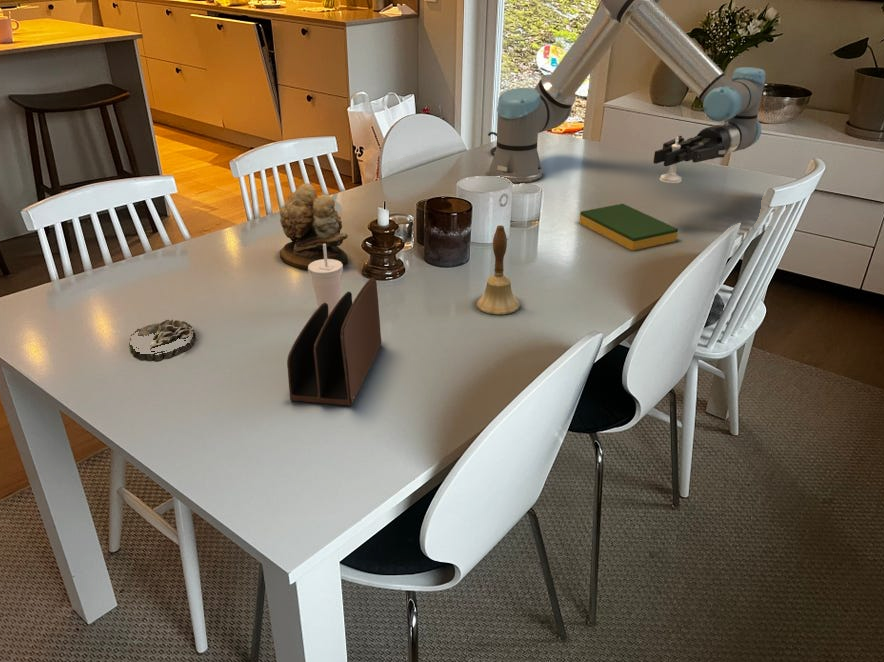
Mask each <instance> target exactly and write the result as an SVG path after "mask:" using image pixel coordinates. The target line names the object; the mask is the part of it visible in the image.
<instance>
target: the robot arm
mask: <svg viewBox="0 0 884 662" xmlns="http://www.w3.org/2000/svg"><path fill="white" fill-rule="evenodd" d="M600 1H601V5H600V6H599V7H598V8H597V10H596V11H595V13H594V14H593V16H592V17H591V19H590V20H589V21H588V23H587V24H586V26H585V27H584V28H583V29H582V31H581V32H580V34H579V35H578V37H577V38H576V39H575V41H574V42H573V43H572V44H571V47H569V49H568V50H567V52H566V53H565V54H564V56H563V57H562V59H561V60H560V62H559V63H558V65H557V66H556V67H555V68H554V69H553V71H552V73H550V74H544V75H543V76H542V77H541V79H540V80H539V82H538V83H537V84H536V86H535V87H534V88H531V87H517V88H511V89H508V90H505V91H503V92H502V93H501V94H500V95H499V97H498V101H497V106H496V112H497V115H496V117H497V118H496V132H495V131H489V132H488V134H487V136H488V137H490V136H491V135H493V136H495V137H496V145H495V146H494V147H492V148H491V149H490V153H491V155H493V156H492V160H491V163H490V165H489V167H488V168H489V169H488V170H489V172H488V175H489V177H490V176H500V177H504V178H507V179H509V180H510V181H511V182H512V184H523V183H524V184H525V183H531V182H535V181H537V180H540V179H542V175H543V168H542V163H541V159H540V156H539V151H538V142H539V141H538V138H539V134H540V133H543V132H545V131H549V130H552V129H555V128H556V129H557V128H558V127H559V126H561V125H563V124H564V123H566V121H567V120H568V119H569V117H570V116H571V113H572V110H573V105H574V104H575V103H576V92H578V90H579V89H580V88H581V86H582V85H583V84H584V82H585V81H586V79H588V78H589V76H590V75H591V73H592V72H593V70H594V69H595V68H596V67H597V65H598V64H599V63H600V61H601V60H602V59H603V57H604V56H605V55H606V54H607V52H608V51H609V50H610V48H611V47H612V46H613V45H614V43H615V42H616V41H617V39H618V38H619V37H620V35H621V34H622V33H623V32H624V31H625V29H626V27H628V26H629V28H630V29H631V30H632V31H633V32H634V33H635V34H636V35H637V36H638V37H639V38H640V39H641V40H642V41H643V42H644V43H645V45H647V46H648V47H649V48H650V49H651V50H652V51H653V53H655V55H656V56H657V57H659V59H660V60H661V61H662V62H663V63H664V64H665V65H666V66H667V67H668V69H670V70H671V71H672V72H673V73H674V74H675V75H676V77H678V78H679V80H681V82H682V83H683V84H684V85H685V86H686V87H687V88H688V89H689V90H690V91H691V92H692V93H693V94H694V95H695V96H696V97H697V98H698V99H699V100H700V102H702V107H703V108H702V109H703V110H704V114H705V115H706V117H707V118H708V119H710V120H711V121H714V122H722V123H719V124H716V125H712V126H708V127H706V128H703V129H701V130H700V131H699V132H698V133H697V134H696V135H695V136H694V137H689V138H687V139H685V137H683V136H682V135H677V136H676V137H679V138H678V140H679V142H678V144H679V145H680V146H681V147H680V149H679V150H676V151H673V152H672V145H673V144H675V142H676V141H675V139H676V137H675V138H674V139H670V140H668V141H665V142H664V143H662V148H661V149H657V150H654V154H653V161H652V163H653V164H654V165H657V164H660V163H663V167H668V166H669V167H670V165H672V164H676V165H677V164H678V163H681V162H682V163H683V162H690V161H692V163H695V164H696V163H700V162H704V161H708V160H714V159H719V158H721V159H722V158H725V156H726V155H729V154H732V153H734V152H737V151H742V150H745V149H747V148H749V147H752V146H754V144H756V143H757V142H758V141H759V139H760V138H761V135H762V126H761V122H760V121H759V120H758V115H759V110H760V106H761V103H762V102H761V101H762V97H763V93H764V88H765V84H766V83H765V82H766V71H765V69H762V68H758V67H751V66H749V67H748V66H747V67H746V66H742V67H737V68H735V70H733V73H732V77H731V78H730V77H729V76H727V74H726V73H725V72H724V71H723V70H722V69H721V67H719V66H718V64H716V63H715V62H714V61H713V59H711V58H710V57H709V56H708V54H707V53H706V52H705V51H704V50H703V49H701V47H700V46H699V45H698V44H697V43H696V42H695V41H694V40H693V39H692V38H691V37H690V36H689V35H688V34H687V33H686V32H685V31H684V30H683V28H682V27H680V26H679V25H678V24H677V23H676V22H675V21H674V20H673V19H672V18H671V17H670V15H669V14H668V13H667V12H666V11H665V10H664V9H663V8H662V7H661V6H660V5H659V4H658V3H659V2H661V0H600Z"/></svg>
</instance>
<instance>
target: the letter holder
mask: <svg viewBox="0 0 884 662" xmlns="http://www.w3.org/2000/svg"><path fill="white" fill-rule="evenodd" d="M378 295H379V294H378V283H377V279H376V278H375V277H370V278H369V279H368V280H367V282H365V284H364V285H363V287H362V288H361V289H360V291H358V293H357V295H356V297H355V298H354V300H353V294H352V292H351V291H346V292H345V293H344V294H343V295H342V297H340V300H339V301H338V303H337V304H336V306H335V307H334V308H333V310H332V311H331V313H330V314H329V316H328V304H327V303H323V304H321V305H320V307H319V308H318V307H317V309H316V310H315V311H314V312H313V314H312V315H311V316H310V318H309V319H308V321H307V322H306V323H305V324H304V326H303V328H302V329H301V330H300V332H299V334H298V336H297V338H296V339H295V340H294V342H293V344H292V346H291V348H290V351H289V353H288V355H287V361H286V366H287V377H288V379H287V380H288V390H289V400H290V401H292V402H294V401H295V402H303V403H304V402H305V403H315V404H325V405H336V406H346V407H347V406H349V407H351V406H353V403H354V401H355V399H356V397H357V395H358V392H359V390H360V388H361V386H362V384H363V383H364V380H365V379H366V376H367V375H368V372H369V371H370V368H371V366H372V364H373V362H374V360H375V358H376V356H377V354H378V351H379V350H380V347H381V346H382V342H383V341H382V332H381V321H380V319H381V318H380V306H379V296H378ZM353 397H354V398H353Z"/></svg>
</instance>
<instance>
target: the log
mask: <svg viewBox="0 0 884 662" xmlns="http://www.w3.org/2000/svg"><path fill="white" fill-rule="evenodd" d="M189 327H191V329H190V328H189ZM193 329H194V330H193ZM138 331H139V333H138V336H143V337H144V335H145V336H147V335H148V336H149V334H152V333H153V334H154V335H155V336H154V338H153V340H156V341H155V342H150V350H151V349H152V348H155V347H158V346H161V345H165V344H169V343H172V342H174V341H176V340H177V339H178V338H179V339H186V338H188V337H189V336H190V335H191V334H192V331H193V332H194V333H193V337H192V339H191V340H190V343H187V344H186V345H185V346H182V347H179V348H177V349H174V350H173V351H170V352H167V353H163V352H165V351H161V352H157V353H162V354H159V355H155V354H157V353H154V354H140V352H136V351H135V349H133V346H132V345H130V343H129V345H128V346H129V351H130V354H132V357H133V358H135V359H137V360H139V361H147V362H152V361H153V362H156V363H157V362H161V361H164V360H169V359H172V358H173V357H176V356H179V355H180V354H182V353H185V352H187V351H189V350H190V349H192V347H194V345H195V340H196V336H197V335H196V332H195V327H193V326H192V325H191V324H189V323H188V322H187V321H184V320H182V321H181V320H180V319H179V320H178V319H164V320H162V321H160V322H157V323H152V324H148V325H145V326H143V327H142V328H137V329H136V330H135V331H134V332H135V333H136V332H138ZM155 333H156V334H155ZM132 335H134V333H132V334H131V335H130V336H132ZM184 341H186V340H184ZM136 348H137V347H136ZM138 349H139V348H138ZM166 351H167V350H166ZM151 352H155V351H151Z"/></svg>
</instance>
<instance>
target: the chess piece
mask: <svg viewBox="0 0 884 662" xmlns="http://www.w3.org/2000/svg"><path fill="white" fill-rule="evenodd" d="M675 138H676V139H675ZM675 138H674V139H675V141H676V142H675V144H673V145H672V152H673V151H676V150H679V149H680V147H681V146H680V145H679V144H678V142H679V140H678V138H679V137H677V136H676V137H675ZM682 179H683V178H682V176H681V175H679V174H678V173H677V163H676V164H672V165H669V168H668V171H667V172H666V173H663V174H661V175H660V177H659V180H660V181H661V182H663V183H666V184H667V183H668V184H680V183H681V182H682Z"/></svg>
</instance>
